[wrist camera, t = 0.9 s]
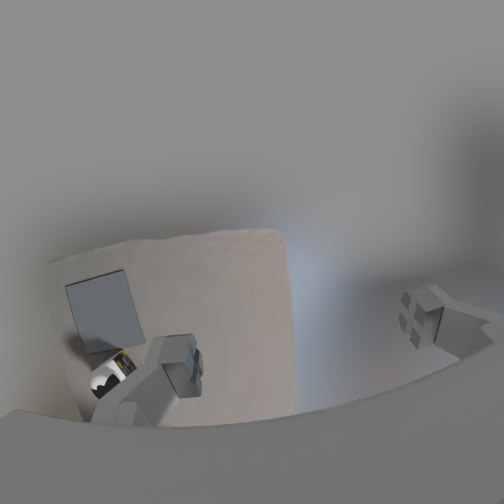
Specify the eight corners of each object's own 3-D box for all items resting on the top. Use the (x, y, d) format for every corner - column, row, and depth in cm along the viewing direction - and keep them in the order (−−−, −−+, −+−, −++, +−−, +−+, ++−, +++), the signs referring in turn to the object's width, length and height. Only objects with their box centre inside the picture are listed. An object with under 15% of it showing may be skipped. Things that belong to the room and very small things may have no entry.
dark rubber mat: (145, 342, 56) (145, 343, 55) (87, 353, 55) (86, 353, 54) (124, 270, 56) (123, 270, 55) (66, 286, 55) (65, 287, 54)
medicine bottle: (143, 374, 56) (126, 398, 44) (121, 387, 55) (102, 411, 43) (123, 348, 56) (102, 368, 44) (102, 362, 55) (80, 382, 43)
